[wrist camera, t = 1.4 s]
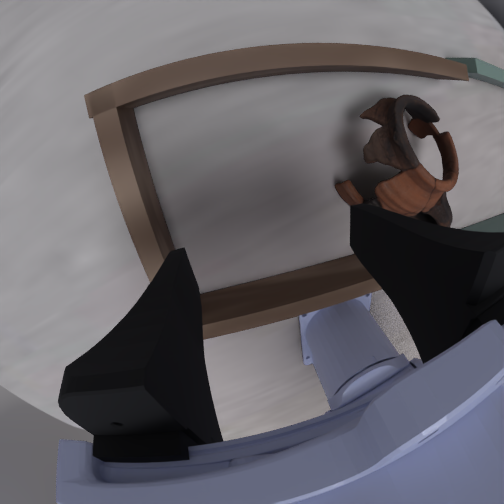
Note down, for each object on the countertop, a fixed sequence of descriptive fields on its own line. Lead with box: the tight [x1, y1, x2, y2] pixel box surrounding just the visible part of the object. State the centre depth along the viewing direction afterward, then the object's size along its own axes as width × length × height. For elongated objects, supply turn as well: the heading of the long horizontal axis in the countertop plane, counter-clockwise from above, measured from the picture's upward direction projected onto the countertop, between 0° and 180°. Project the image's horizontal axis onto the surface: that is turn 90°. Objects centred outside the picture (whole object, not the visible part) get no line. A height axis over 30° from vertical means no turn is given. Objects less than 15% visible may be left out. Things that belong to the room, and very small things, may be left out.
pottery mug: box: [335, 95, 459, 227], centre depth 19 cm, size 12×10×8 cm
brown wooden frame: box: [84, 43, 469, 339], centre depth 19 cm, size 19×28×4 cm
